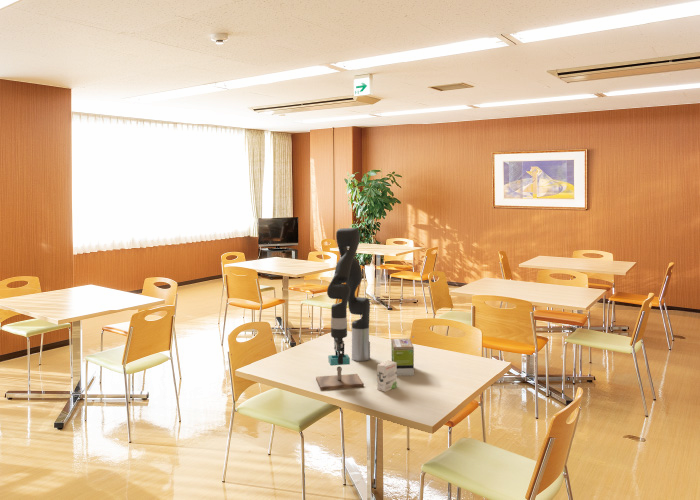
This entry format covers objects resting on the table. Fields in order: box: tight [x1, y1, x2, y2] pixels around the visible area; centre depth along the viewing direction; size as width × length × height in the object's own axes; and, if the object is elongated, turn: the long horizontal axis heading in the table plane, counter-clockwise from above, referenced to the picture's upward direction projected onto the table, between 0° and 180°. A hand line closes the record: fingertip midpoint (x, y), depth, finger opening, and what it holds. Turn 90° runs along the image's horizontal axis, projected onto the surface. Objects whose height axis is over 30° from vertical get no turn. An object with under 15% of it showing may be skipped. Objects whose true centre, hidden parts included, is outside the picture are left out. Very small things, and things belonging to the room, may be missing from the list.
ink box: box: [376, 360, 398, 392], centre depth 248 cm, size 9×5×12 cm, turn 137°
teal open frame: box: [327, 353, 351, 367], centre depth 254 cm, size 9×6×3 cm, turn 102°
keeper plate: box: [315, 366, 365, 391], centre depth 254 cm, size 20×14×8 cm
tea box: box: [390, 338, 415, 377], centre depth 272 cm, size 15×10×15 cm
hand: (339, 361), depth 254 cm, fingers closed on teal open frame, 6 cm apart
